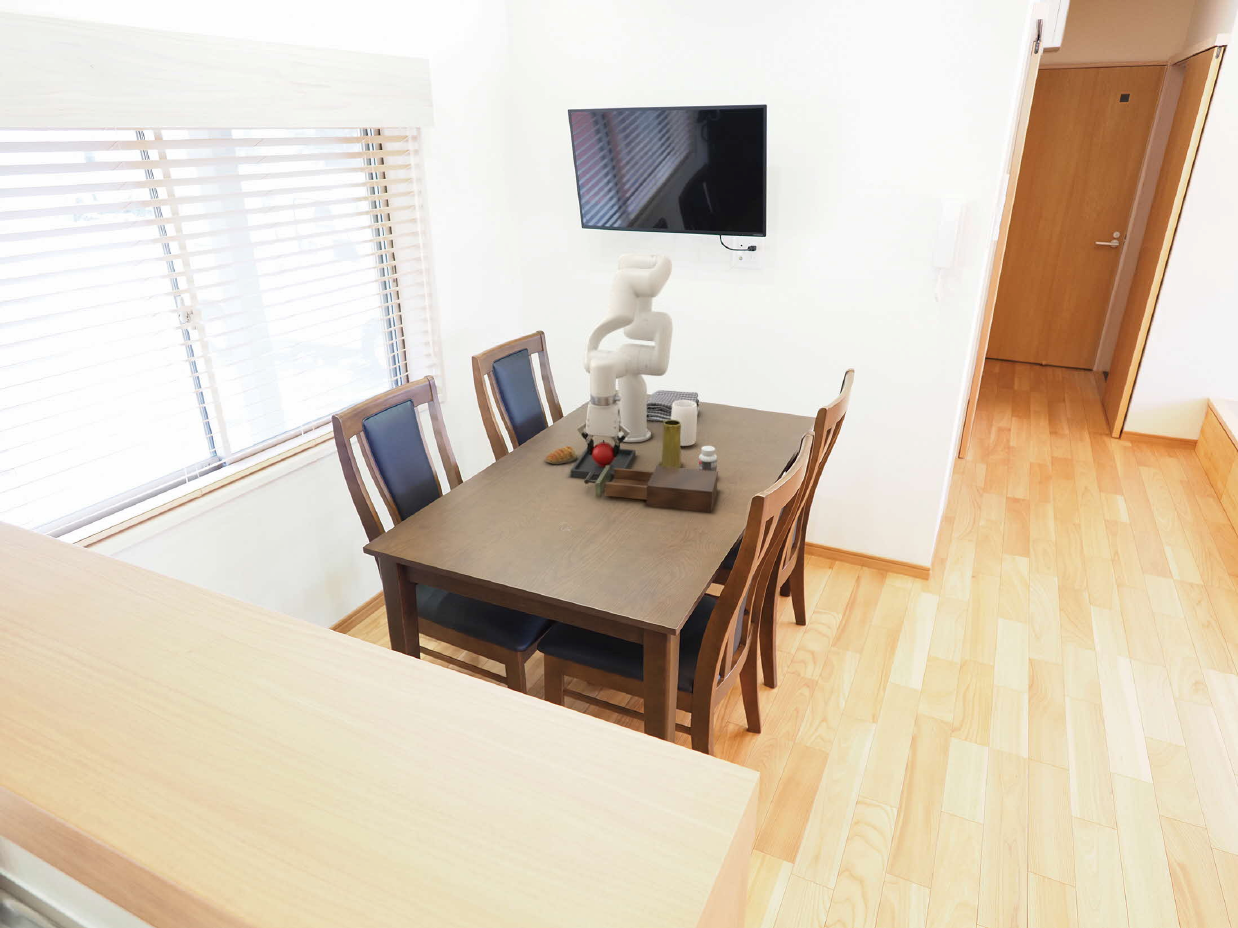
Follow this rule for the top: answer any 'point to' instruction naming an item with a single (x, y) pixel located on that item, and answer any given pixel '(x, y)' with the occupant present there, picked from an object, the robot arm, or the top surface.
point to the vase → (671, 444)
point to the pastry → (562, 455)
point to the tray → (588, 465)
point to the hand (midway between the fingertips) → (603, 454)
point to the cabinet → (682, 489)
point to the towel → (667, 403)
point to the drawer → (621, 483)
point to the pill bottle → (707, 459)
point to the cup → (686, 420)
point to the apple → (603, 453)
